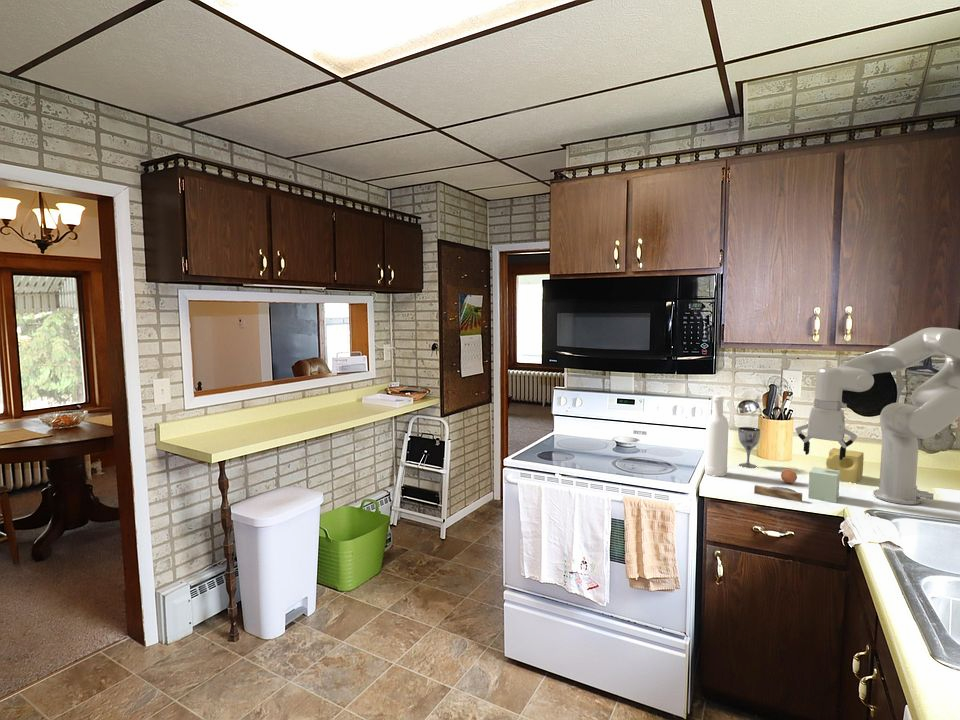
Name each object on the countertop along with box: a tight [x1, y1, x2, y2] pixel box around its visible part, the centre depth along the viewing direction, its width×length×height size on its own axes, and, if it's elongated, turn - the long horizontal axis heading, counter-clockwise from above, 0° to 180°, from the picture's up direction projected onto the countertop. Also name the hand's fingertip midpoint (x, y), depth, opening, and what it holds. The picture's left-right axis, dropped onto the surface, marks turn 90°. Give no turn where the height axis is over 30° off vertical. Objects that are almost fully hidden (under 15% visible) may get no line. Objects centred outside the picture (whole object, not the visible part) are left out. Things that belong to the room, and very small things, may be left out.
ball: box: [780, 468, 798, 484], centre depth 198 cm, size 5×5×5 cm
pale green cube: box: [808, 466, 840, 504], centre depth 183 cm, size 8×8×9 cm
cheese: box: [825, 447, 865, 484], centre depth 203 cm, size 10×11×10 cm
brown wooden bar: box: [753, 484, 803, 503], centre depth 184 cm, size 14×2×2 cm, turn 51°
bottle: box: [704, 394, 729, 477], centre depth 209 cm, size 8×8×30 cm
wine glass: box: [737, 426, 761, 469], centre depth 220 cm, size 8×8×15 cm
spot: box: [768, 486, 797, 492], centre depth 189 cm, size 9×9×1 cm
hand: (823, 456), depth 182 cm, fingers open, 9 cm apart
